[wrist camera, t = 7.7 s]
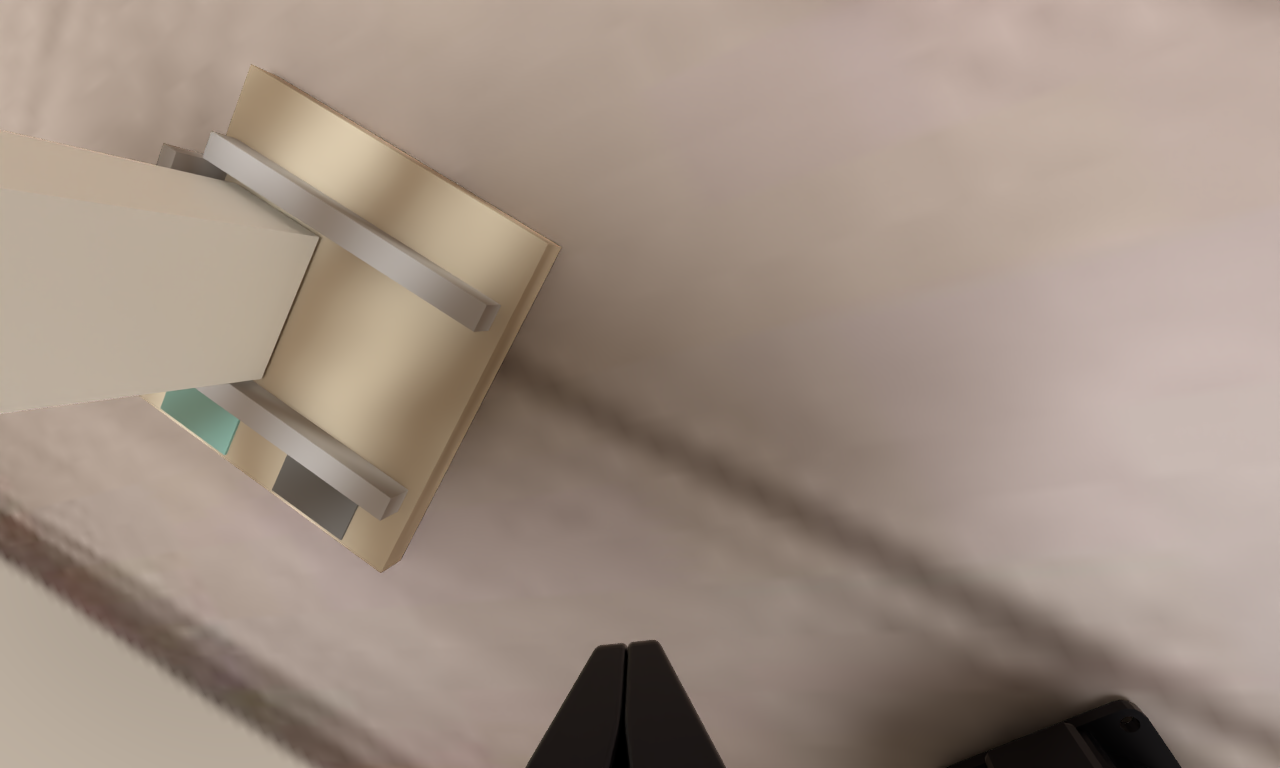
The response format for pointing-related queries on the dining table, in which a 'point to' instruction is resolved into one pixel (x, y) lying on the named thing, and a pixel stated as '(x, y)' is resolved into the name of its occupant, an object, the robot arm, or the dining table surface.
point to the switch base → (361, 320)
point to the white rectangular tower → (134, 277)
